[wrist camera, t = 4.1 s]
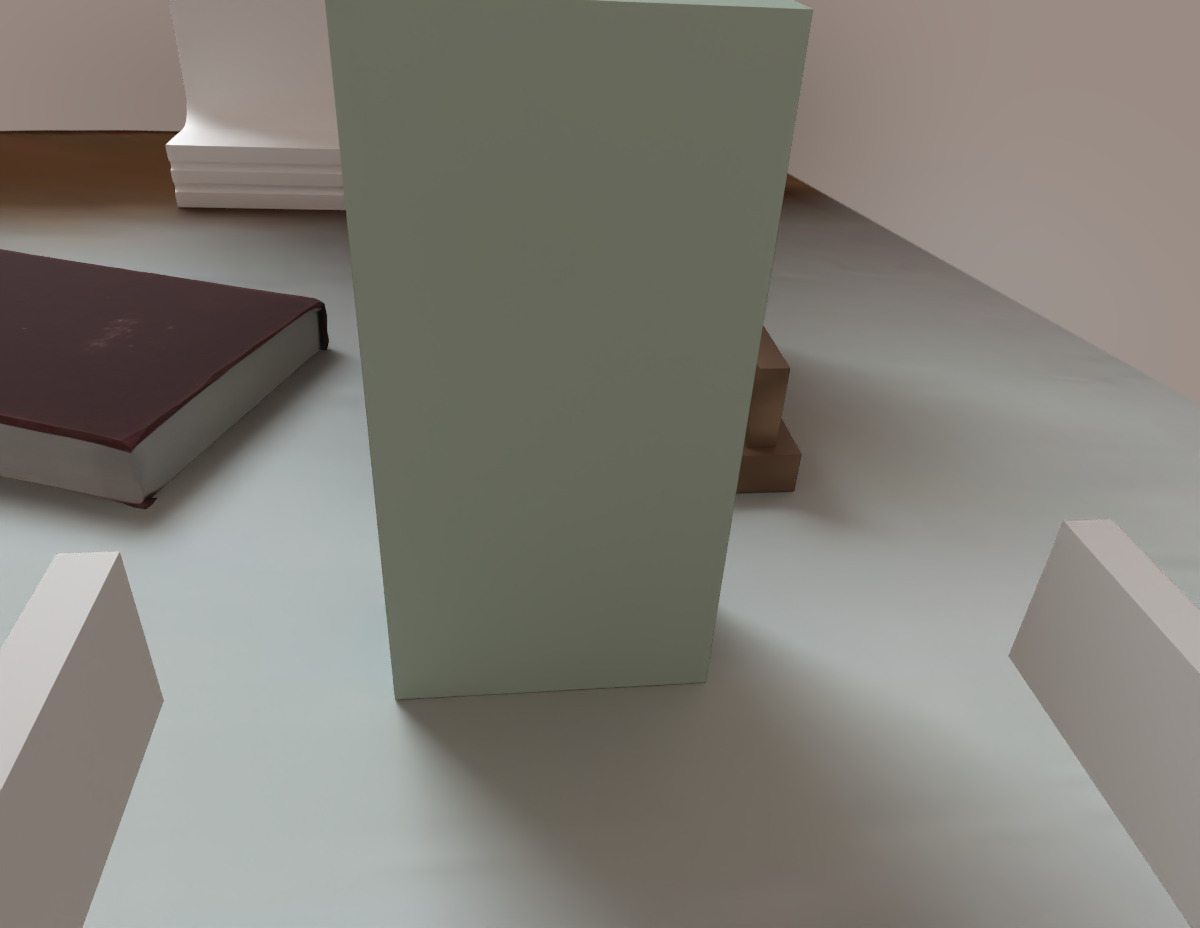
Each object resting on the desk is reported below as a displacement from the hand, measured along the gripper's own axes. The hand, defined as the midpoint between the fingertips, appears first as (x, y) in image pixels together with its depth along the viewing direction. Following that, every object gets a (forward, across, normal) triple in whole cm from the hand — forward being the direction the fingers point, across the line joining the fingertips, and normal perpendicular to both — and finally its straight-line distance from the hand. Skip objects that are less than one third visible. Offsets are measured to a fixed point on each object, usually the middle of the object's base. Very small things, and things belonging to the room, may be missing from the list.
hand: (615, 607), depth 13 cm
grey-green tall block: (+9, 0, -9) cm, 13 cm away
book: (+24, -19, -10) cm, 33 cm away
